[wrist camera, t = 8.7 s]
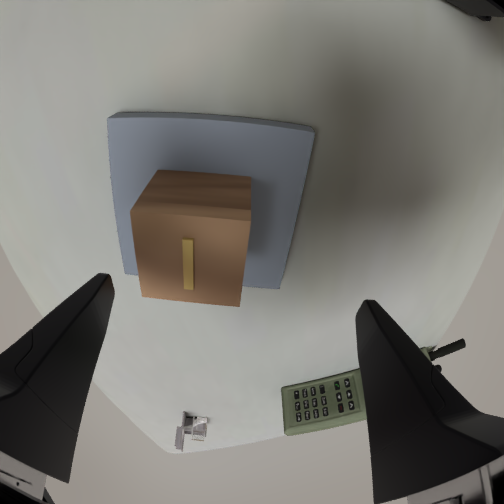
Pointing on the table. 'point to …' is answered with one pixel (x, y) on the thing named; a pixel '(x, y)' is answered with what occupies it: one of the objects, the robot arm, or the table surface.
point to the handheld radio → (335, 398)
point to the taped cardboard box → (192, 236)
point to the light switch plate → (221, 162)
